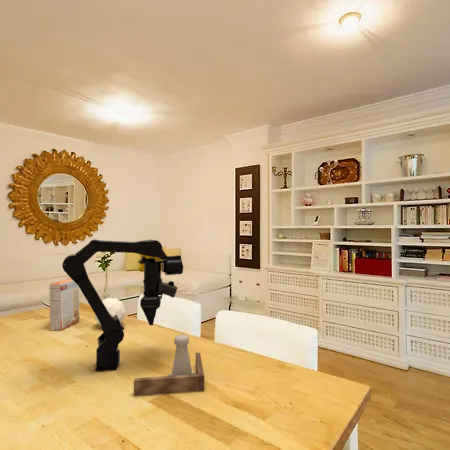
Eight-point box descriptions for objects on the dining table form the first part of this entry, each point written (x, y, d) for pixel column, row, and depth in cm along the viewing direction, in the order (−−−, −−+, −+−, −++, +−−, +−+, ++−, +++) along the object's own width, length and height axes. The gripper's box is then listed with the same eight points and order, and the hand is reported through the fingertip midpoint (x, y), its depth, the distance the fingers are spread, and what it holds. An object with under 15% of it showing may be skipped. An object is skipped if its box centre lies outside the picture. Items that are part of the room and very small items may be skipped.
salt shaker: (194, 376, 96) (194, 333, 96) (187, 386, 90) (187, 340, 91) (176, 374, 97) (176, 332, 97) (168, 383, 92) (168, 338, 92)
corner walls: (133, 395, 86) (133, 380, 86) (141, 368, 103) (141, 355, 103) (204, 390, 89) (204, 376, 89) (200, 364, 106) (200, 352, 106)
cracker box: (68, 321, 155) (68, 278, 155) (79, 321, 154) (80, 278, 154) (48, 330, 141) (48, 283, 141) (61, 331, 140) (61, 283, 140)
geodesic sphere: (83, 314, 147) (94, 292, 142) (109, 307, 158) (120, 287, 154) (98, 337, 140) (110, 315, 136) (124, 329, 152) (135, 309, 147)
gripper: (175, 279, 102) (175, 328, 102) (176, 271, 121) (176, 313, 121) (140, 280, 101) (140, 330, 101) (146, 272, 119) (146, 314, 119)
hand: (152, 321), depth 110 cm, fingers open, 9 cm apart
